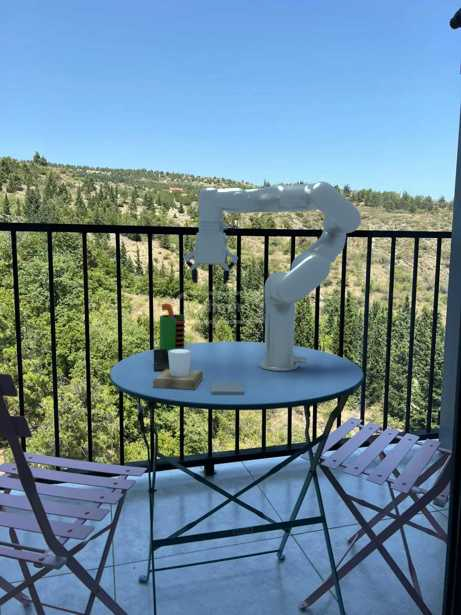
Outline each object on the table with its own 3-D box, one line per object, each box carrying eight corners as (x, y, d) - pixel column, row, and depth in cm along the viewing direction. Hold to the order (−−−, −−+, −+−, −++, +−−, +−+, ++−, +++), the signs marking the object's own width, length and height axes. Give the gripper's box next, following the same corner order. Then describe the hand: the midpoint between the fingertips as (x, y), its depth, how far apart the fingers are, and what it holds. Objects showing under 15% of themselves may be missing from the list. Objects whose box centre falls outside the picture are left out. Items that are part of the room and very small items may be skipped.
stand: (202, 378, 157) (202, 370, 156) (194, 389, 145) (194, 381, 144) (164, 376, 158) (164, 368, 158) (153, 387, 146) (153, 378, 146)
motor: (184, 365, 172) (184, 306, 170) (157, 365, 172) (157, 305, 169) (186, 358, 182) (186, 302, 180) (160, 358, 182) (160, 302, 180)
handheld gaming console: (155, 368, 161) (156, 340, 166) (151, 377, 167) (151, 350, 172) (191, 371, 165) (190, 343, 170) (185, 380, 171) (184, 352, 176)
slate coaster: (242, 385, 150) (242, 382, 150) (244, 394, 141) (244, 391, 141) (211, 384, 150) (211, 382, 150) (211, 394, 141) (211, 391, 141)
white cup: (190, 377, 148) (190, 353, 147) (166, 377, 148) (166, 353, 147) (192, 371, 155) (192, 348, 154) (169, 370, 155) (169, 348, 154)
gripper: (239, 228, 164) (238, 282, 166) (186, 228, 166) (186, 281, 168) (236, 228, 156) (235, 284, 159) (181, 227, 159) (181, 283, 161)
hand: (210, 282), depth 164 cm, fingers open, 9 cm apart
